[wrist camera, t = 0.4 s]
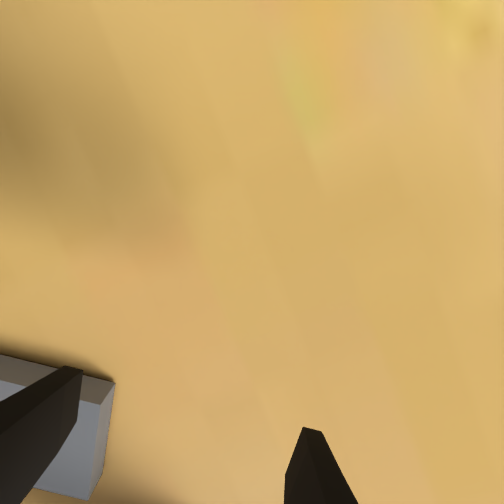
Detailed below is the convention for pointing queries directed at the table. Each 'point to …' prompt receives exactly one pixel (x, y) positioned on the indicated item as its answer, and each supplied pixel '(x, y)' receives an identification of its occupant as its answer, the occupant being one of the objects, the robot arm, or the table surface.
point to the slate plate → (80, 438)
